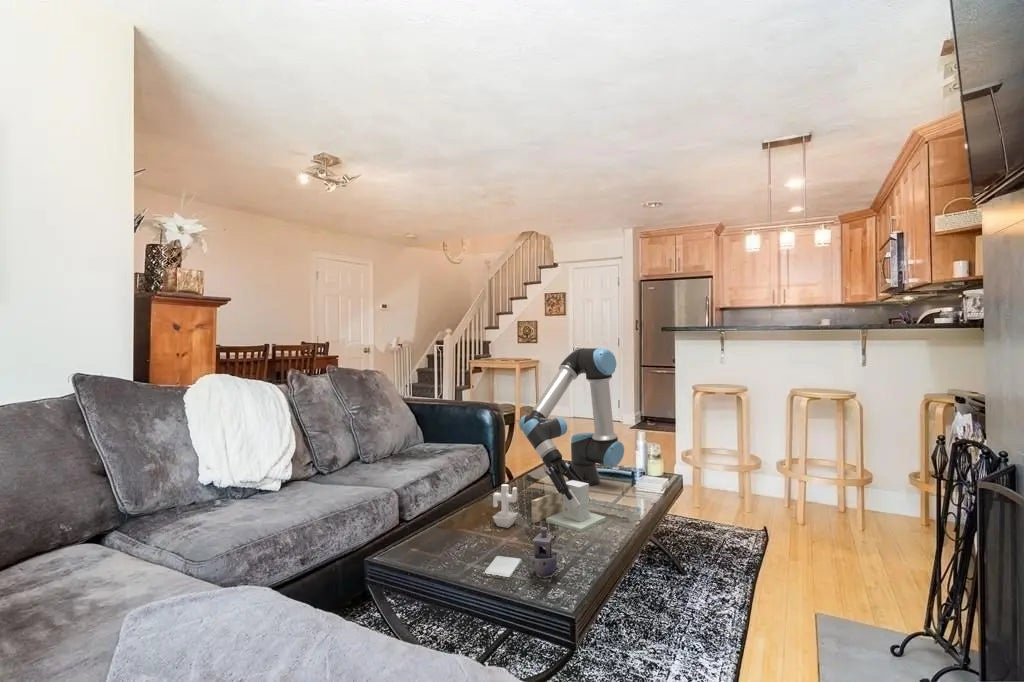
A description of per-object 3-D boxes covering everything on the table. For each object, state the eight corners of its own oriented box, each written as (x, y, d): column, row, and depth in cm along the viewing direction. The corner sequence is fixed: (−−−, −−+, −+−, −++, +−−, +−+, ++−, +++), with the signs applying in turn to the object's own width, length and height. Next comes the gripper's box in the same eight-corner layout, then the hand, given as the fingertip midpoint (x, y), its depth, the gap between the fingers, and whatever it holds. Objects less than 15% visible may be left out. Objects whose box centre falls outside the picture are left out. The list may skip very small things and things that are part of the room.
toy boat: (537, 562, 156) (536, 519, 156) (562, 565, 154) (562, 521, 154) (524, 585, 142) (523, 538, 142) (552, 589, 139) (552, 541, 139)
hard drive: (496, 555, 159) (482, 572, 147) (521, 558, 157) (509, 576, 145) (496, 560, 159) (482, 578, 147) (521, 564, 157) (509, 582, 145)
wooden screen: (569, 506, 208) (569, 486, 208) (572, 506, 207) (572, 487, 207) (531, 521, 191) (531, 500, 191) (534, 522, 190) (534, 501, 190)
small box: (590, 517, 191) (589, 483, 191) (580, 522, 186) (579, 487, 186) (572, 512, 197) (572, 479, 197) (562, 517, 192) (562, 482, 192)
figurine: (497, 519, 193) (497, 480, 193) (520, 523, 189) (520, 483, 189) (489, 526, 186) (489, 485, 186) (512, 530, 183) (512, 488, 183)
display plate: (571, 510, 203) (571, 507, 203) (605, 520, 192) (605, 516, 192) (546, 521, 191) (546, 518, 191) (581, 532, 180) (581, 528, 180)
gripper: (559, 455, 209) (592, 503, 198) (527, 464, 195) (561, 516, 184) (569, 444, 205) (604, 492, 194) (538, 452, 191) (573, 504, 180)
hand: (583, 503), depth 189 cm, fingers open, 7 cm apart
